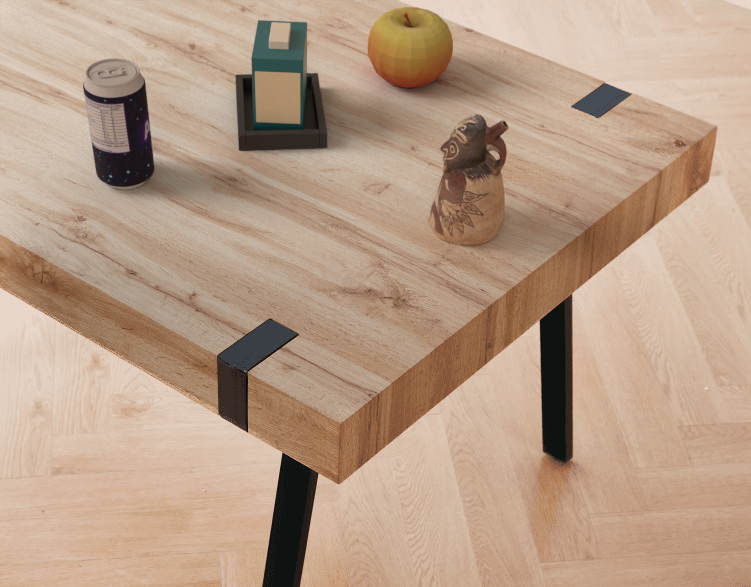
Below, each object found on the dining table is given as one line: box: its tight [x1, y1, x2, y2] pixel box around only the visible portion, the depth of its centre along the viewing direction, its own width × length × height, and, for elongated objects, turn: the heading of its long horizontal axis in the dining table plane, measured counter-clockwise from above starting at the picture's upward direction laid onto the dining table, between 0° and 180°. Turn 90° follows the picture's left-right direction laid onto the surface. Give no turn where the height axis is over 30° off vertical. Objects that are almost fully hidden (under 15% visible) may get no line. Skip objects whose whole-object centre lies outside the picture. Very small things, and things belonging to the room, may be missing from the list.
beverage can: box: [82, 57, 155, 191], centre depth 103 cm, size 6×6×12 cm
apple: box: [367, 6, 454, 89], centre depth 122 cm, size 10×10×8 cm
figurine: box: [427, 113, 509, 246], centre depth 100 cm, size 7×7×12 cm
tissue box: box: [251, 19, 308, 131], centre depth 113 cm, size 5×8×10 cm, turn 0°
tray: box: [235, 72, 328, 151], centre depth 116 cm, size 9×12×2 cm
